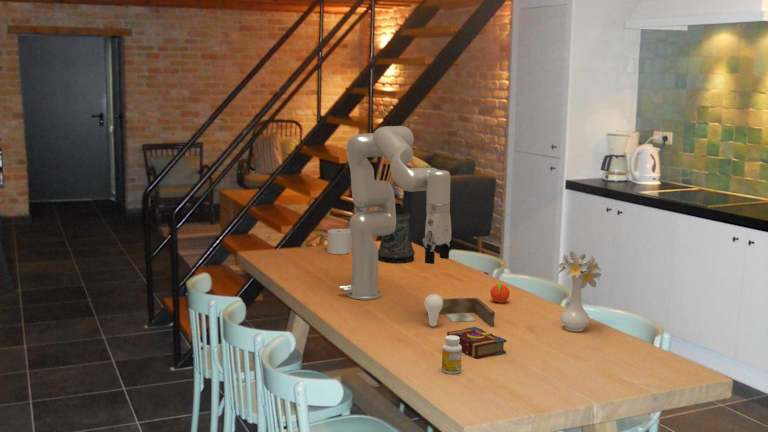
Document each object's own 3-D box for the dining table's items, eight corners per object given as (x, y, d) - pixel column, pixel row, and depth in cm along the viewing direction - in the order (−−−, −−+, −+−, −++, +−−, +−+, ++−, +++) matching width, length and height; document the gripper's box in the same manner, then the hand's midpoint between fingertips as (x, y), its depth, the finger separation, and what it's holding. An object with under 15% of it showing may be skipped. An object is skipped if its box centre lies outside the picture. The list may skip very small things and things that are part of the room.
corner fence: (441, 329, 273) (441, 314, 272) (426, 313, 290) (427, 299, 290) (494, 326, 277) (494, 312, 276) (476, 311, 294) (477, 297, 293)
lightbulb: (444, 325, 277) (445, 292, 275) (439, 330, 272) (440, 297, 270) (426, 323, 279) (427, 290, 277) (421, 328, 274) (422, 295, 272)
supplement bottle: (440, 367, 237) (441, 334, 235) (459, 367, 238) (460, 334, 236) (443, 374, 232) (444, 340, 230) (462, 374, 232) (463, 340, 231)
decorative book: (475, 360, 245) (476, 343, 244) (443, 344, 258) (443, 329, 257) (506, 354, 251) (506, 338, 250) (472, 339, 264) (473, 323, 263)
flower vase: (574, 339, 265) (579, 262, 261) (544, 323, 282) (548, 250, 278) (610, 336, 269) (615, 260, 265) (578, 320, 286) (582, 248, 282)
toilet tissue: (324, 253, 383) (324, 232, 381) (330, 248, 394) (331, 227, 393) (347, 255, 381) (348, 233, 379) (353, 249, 392) (353, 228, 391)
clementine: (508, 306, 302) (509, 287, 300) (489, 305, 303) (489, 285, 302) (509, 300, 309) (510, 281, 308) (490, 299, 311) (491, 280, 310)
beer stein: (414, 264, 365) (416, 207, 361) (370, 263, 366) (371, 206, 361) (414, 256, 382) (415, 201, 378) (371, 255, 382) (372, 200, 378)
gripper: (435, 212, 261) (434, 266, 264) (460, 206, 276) (459, 257, 278) (414, 210, 265) (413, 264, 268) (440, 204, 280) (439, 255, 282)
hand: (437, 260), depth 273 cm, fingers open, 9 cm apart
